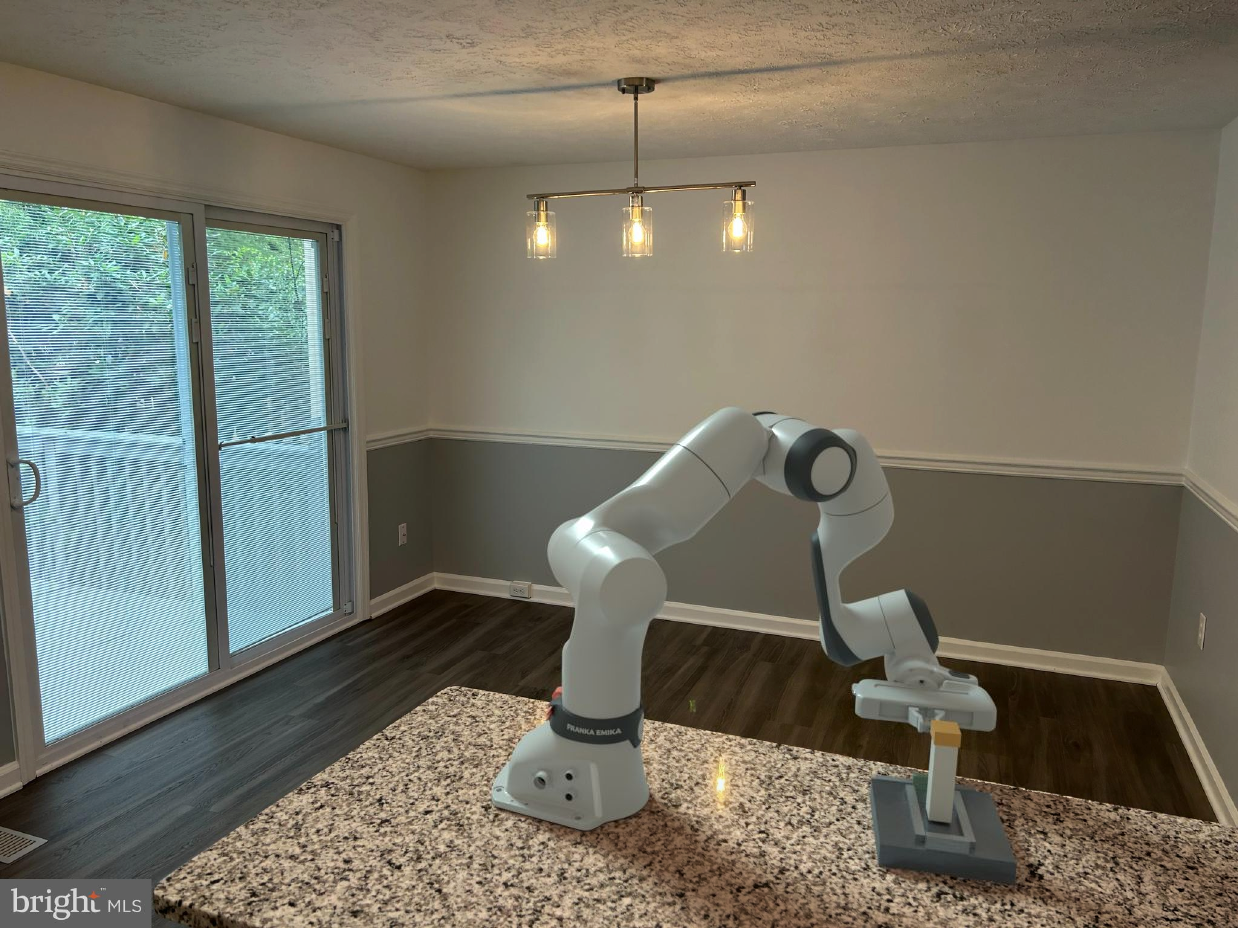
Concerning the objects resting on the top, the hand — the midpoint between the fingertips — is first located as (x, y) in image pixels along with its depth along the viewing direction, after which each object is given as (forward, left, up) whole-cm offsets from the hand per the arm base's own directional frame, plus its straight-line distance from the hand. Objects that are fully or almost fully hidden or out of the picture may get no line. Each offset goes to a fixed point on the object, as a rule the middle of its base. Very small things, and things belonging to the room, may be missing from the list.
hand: (929, 728), depth 125 cm
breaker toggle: (0, -12, -6) cm, 14 cm away
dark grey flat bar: (0, -2, -10) cm, 10 cm away
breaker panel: (0, -12, -10) cm, 15 cm away
